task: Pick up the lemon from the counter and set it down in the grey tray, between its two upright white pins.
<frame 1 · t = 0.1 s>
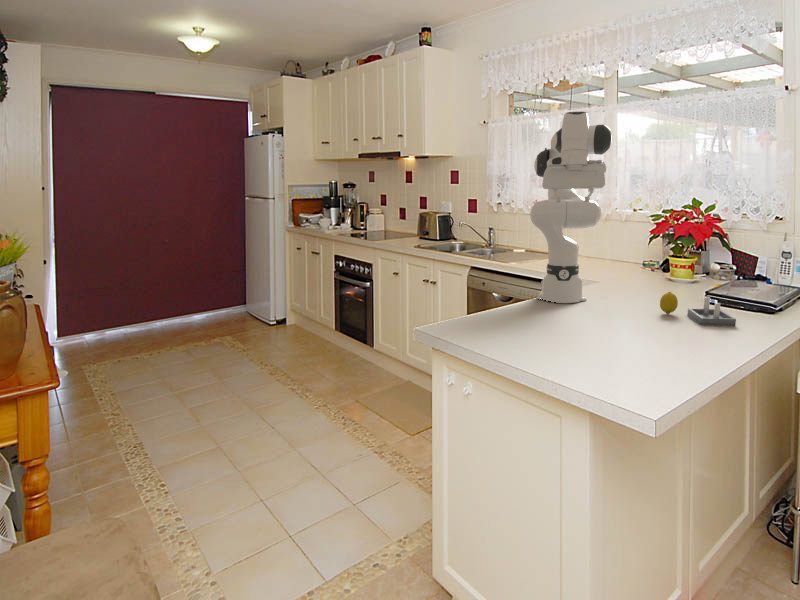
hand: (572, 202, 187), 39 cm above the worktop, tool pointing down, fingers open, 8 cm apart
lemon: (667, 314, 192), on the worktop
tray: (710, 320, 182), on the worktop
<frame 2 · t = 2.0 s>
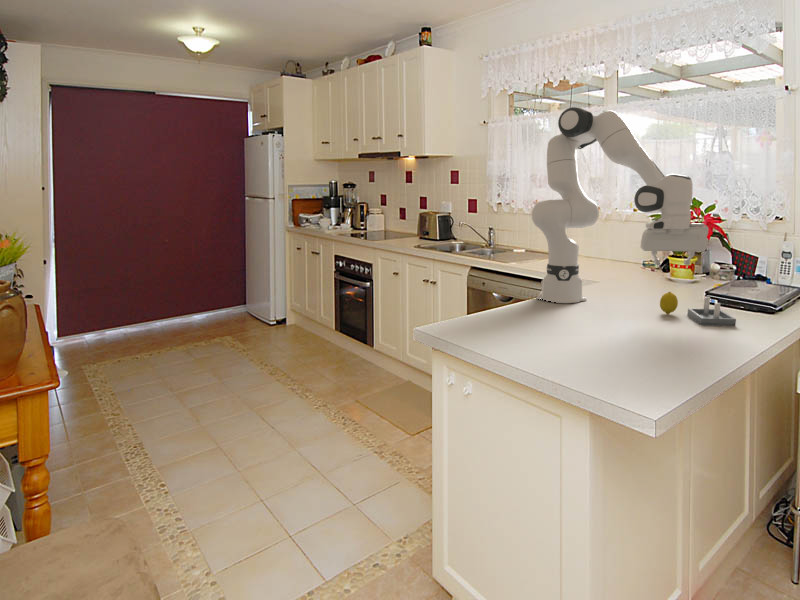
hand: (671, 264, 187), 18 cm above the worktop, tool pointing down, fingers open, 8 cm apart
nothing on the worktop moved.
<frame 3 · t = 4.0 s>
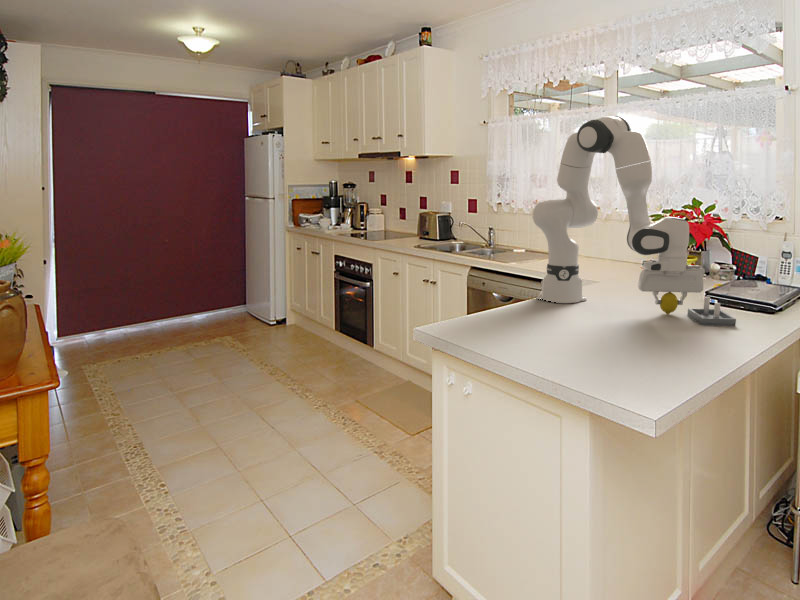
hand: (668, 304, 191), 4 cm above the worktop, tool pointing down, fingers closed on lemon, 6 cm apart
lemon: (667, 314, 192), on the worktop, touching gripper
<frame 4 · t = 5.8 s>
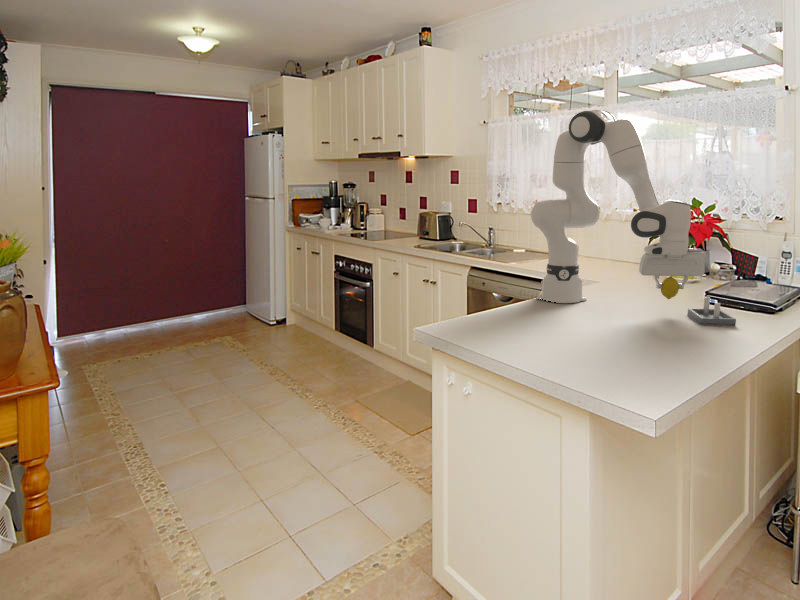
hand: (669, 288, 190), 9 cm above the worktop, tool pointing down, fingers closed on lemon, 6 cm apart
lemon: (668, 299, 191), point 5 cm above the worktop, touching gripper
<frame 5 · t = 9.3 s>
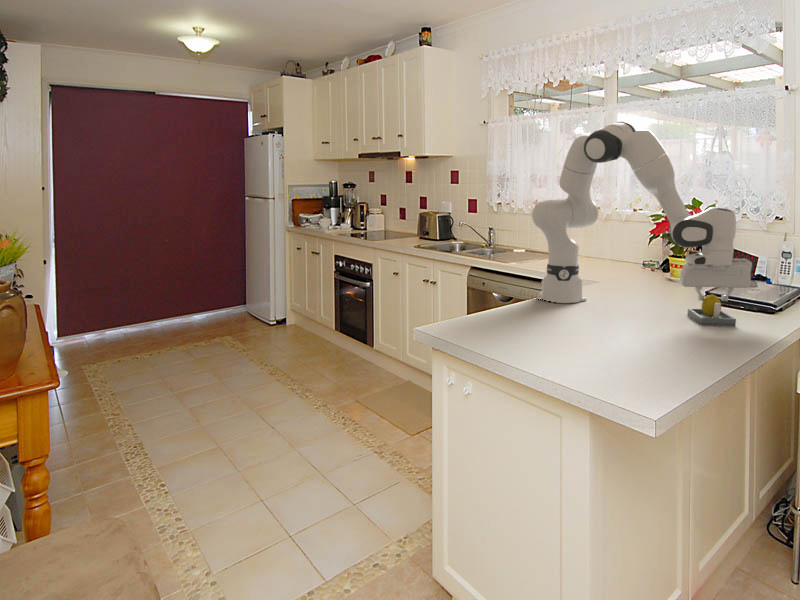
hand: (712, 300, 180), 7 cm above the worktop, tool pointing down, fingers open, 6 cm apart
lemon: (710, 318, 181), point 1 cm above the worktop, touching gripper, tray
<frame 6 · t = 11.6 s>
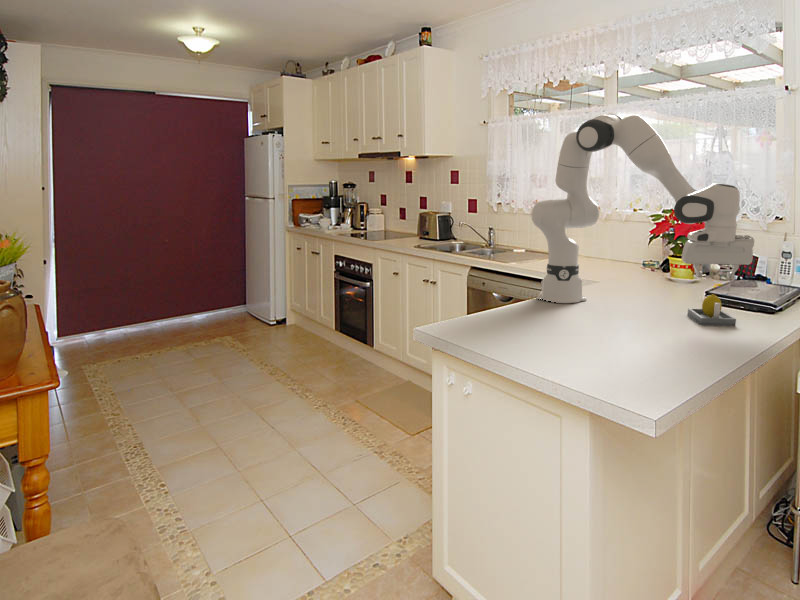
hand: (714, 277, 180), 14 cm above the worktop, tool pointing down, fingers open, 8 cm apart
lemon: (710, 318, 181), point 1 cm above the worktop, touching tray
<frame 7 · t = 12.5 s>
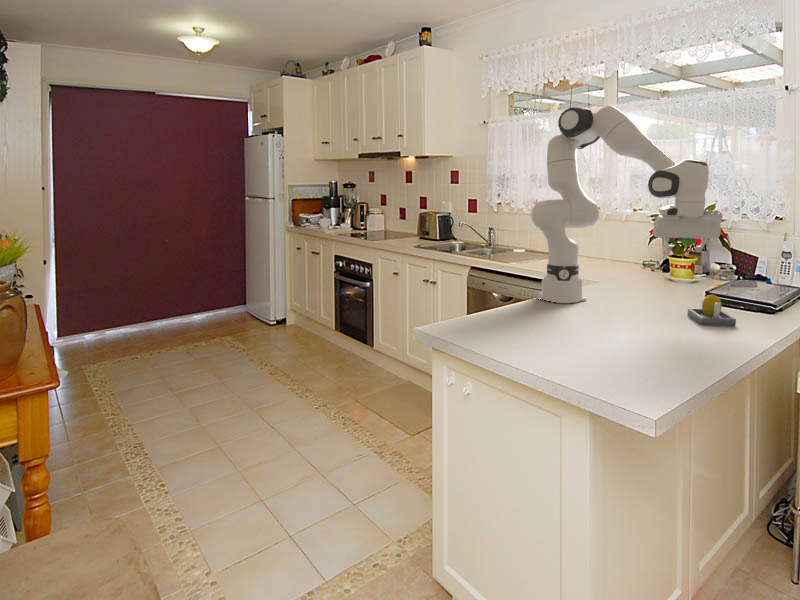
hand: (683, 251, 186), 22 cm above the worktop, tool pointing down, fingers open, 8 cm apart
nothing on the worktop moved.
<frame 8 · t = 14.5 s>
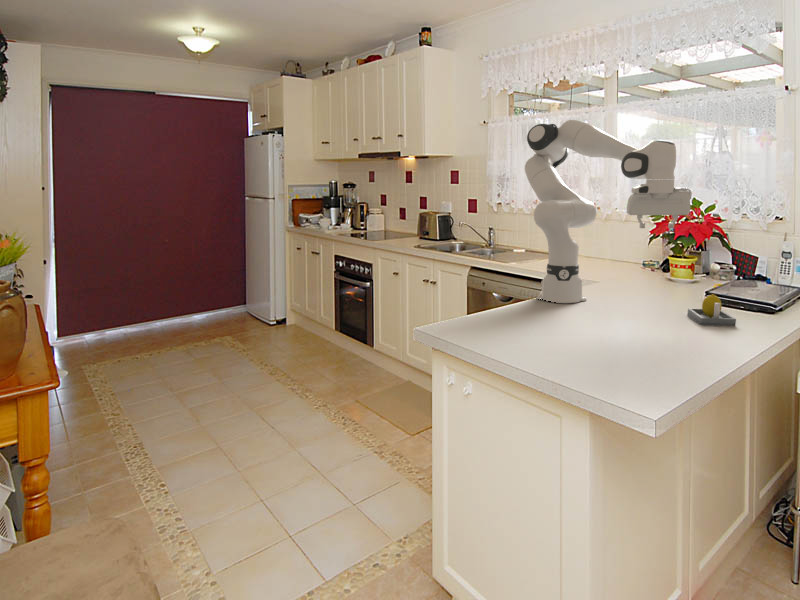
hand: (656, 228, 194), 29 cm above the worktop, tool pointing down, fingers open, 8 cm apart
nothing on the worktop moved.
at the end: lemon inside the target area on the tray (0.2 cm from its centre), point 0.8 cm above the tray's base; the gripper is holding nothing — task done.
